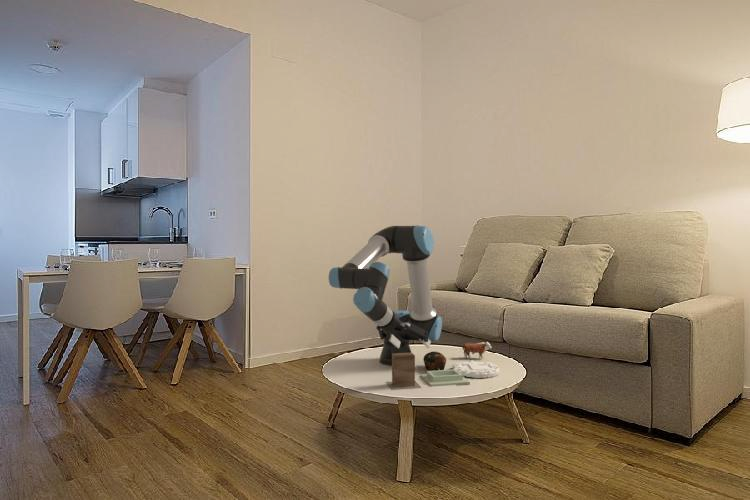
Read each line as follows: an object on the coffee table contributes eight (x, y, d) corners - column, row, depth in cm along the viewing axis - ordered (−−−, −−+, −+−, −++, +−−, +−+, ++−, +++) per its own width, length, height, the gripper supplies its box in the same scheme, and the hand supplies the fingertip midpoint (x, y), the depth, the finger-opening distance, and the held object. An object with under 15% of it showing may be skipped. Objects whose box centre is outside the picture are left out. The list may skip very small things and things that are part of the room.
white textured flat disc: (501, 368, 228) (501, 362, 228) (497, 381, 209) (497, 374, 209) (455, 364, 234) (455, 358, 234) (448, 376, 215) (448, 369, 215)
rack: (420, 376, 214) (420, 369, 214) (457, 374, 218) (457, 367, 217) (431, 387, 201) (431, 379, 201) (470, 384, 204) (470, 376, 204)
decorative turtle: (434, 375, 216) (432, 356, 216) (417, 368, 230) (416, 350, 230) (454, 371, 220) (452, 353, 220) (436, 365, 234) (435, 347, 234)
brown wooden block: (392, 383, 204) (392, 353, 203) (411, 382, 206) (411, 352, 205) (394, 387, 200) (394, 356, 199) (414, 385, 201) (414, 355, 201)
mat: (385, 382, 206) (385, 382, 206) (414, 380, 209) (414, 380, 209) (391, 390, 197) (391, 389, 196) (421, 388, 199) (421, 387, 199)
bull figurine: (491, 360, 240) (492, 343, 239) (462, 359, 242) (462, 342, 241) (491, 358, 244) (491, 340, 244) (462, 356, 246) (462, 339, 246)
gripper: (354, 328, 190) (384, 354, 203) (412, 325, 175) (440, 353, 189) (359, 310, 194) (389, 336, 207) (416, 306, 179) (444, 335, 192)
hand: (414, 344), depth 198 cm, fingers open, 13 cm apart
